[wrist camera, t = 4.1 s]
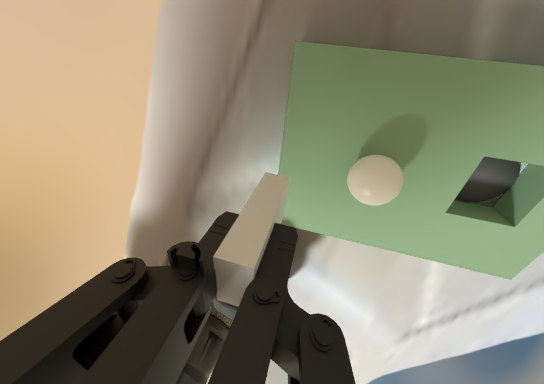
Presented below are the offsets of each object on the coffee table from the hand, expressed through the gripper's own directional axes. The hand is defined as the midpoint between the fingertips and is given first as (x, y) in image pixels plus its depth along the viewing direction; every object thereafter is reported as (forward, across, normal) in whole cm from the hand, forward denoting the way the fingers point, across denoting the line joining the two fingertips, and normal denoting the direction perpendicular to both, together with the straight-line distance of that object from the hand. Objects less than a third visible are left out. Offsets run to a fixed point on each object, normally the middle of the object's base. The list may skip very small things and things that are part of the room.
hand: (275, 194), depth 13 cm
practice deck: (+11, +11, 0) cm, 15 cm away
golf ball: (+5, +7, 0) cm, 9 cm away
